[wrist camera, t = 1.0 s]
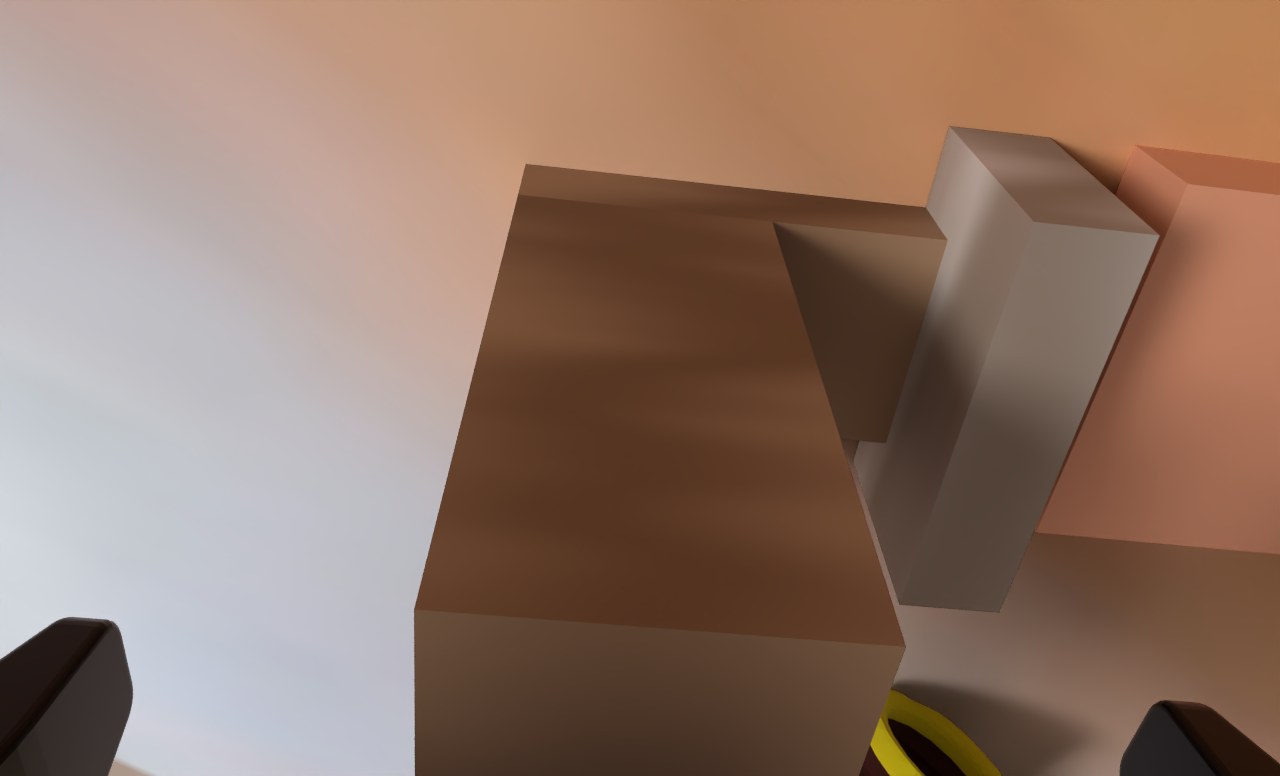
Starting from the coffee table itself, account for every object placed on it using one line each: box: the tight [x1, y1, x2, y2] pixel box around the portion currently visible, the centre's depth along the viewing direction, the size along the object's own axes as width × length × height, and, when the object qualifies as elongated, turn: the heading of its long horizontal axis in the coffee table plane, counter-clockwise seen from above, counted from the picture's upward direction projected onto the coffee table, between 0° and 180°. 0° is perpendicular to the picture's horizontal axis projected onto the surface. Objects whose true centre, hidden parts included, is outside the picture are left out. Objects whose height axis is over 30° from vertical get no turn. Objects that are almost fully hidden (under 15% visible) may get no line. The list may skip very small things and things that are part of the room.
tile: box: [1035, 145, 1280, 554], centre depth 16 cm, size 6×6×2 cm
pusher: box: [414, 126, 1160, 776], centre depth 12 cm, size 8×6×9 cm
